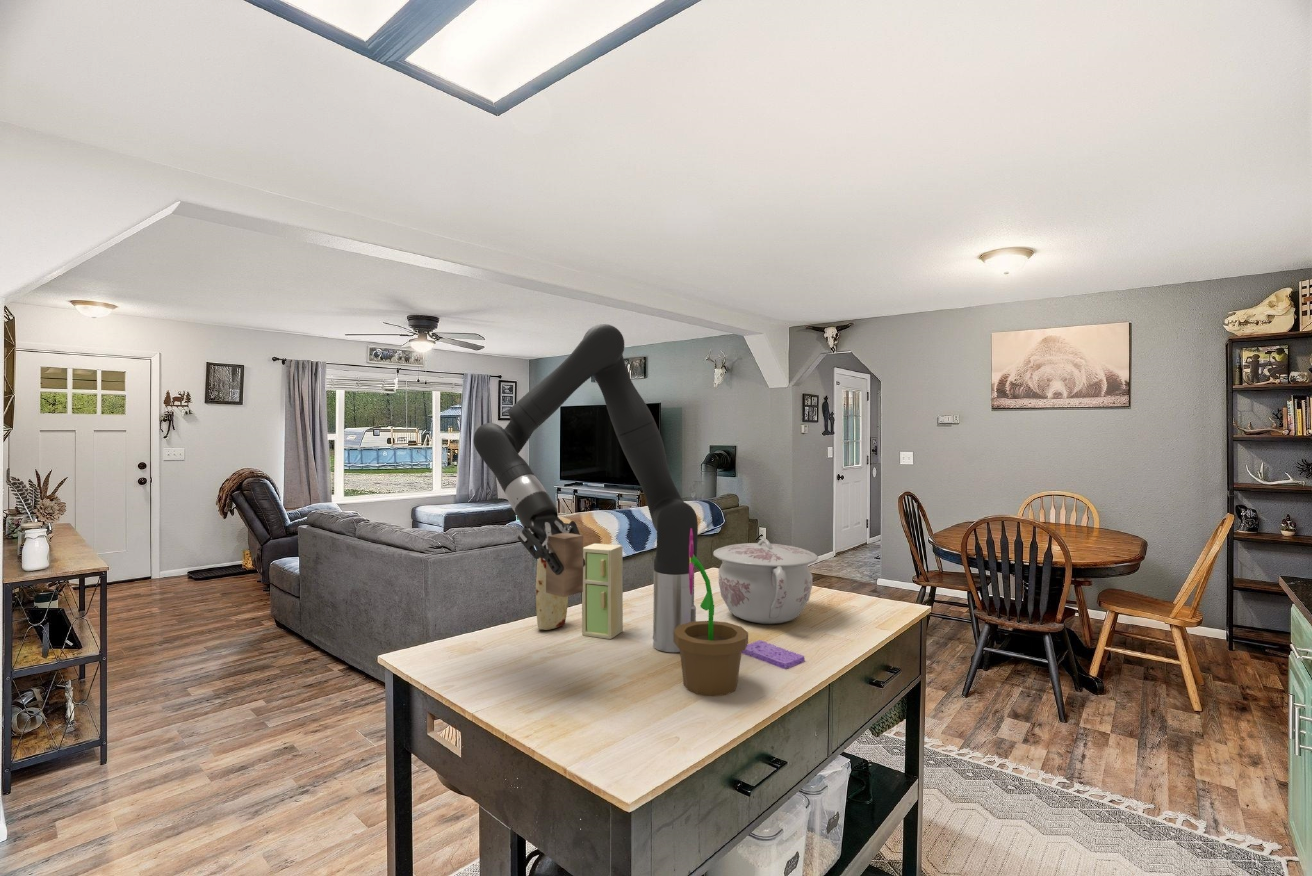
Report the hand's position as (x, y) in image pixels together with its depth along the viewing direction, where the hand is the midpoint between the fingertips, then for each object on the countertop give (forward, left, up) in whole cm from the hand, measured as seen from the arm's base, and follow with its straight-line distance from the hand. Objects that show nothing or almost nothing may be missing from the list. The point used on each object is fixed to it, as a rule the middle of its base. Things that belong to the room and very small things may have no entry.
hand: (571, 569), depth 119 cm
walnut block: (+1, -1, -5) cm, 5 cm away
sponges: (-43, -11, -23) cm, 50 cm away
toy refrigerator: (-7, -29, -22) cm, 37 cm away
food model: (+5, -35, -22) cm, 42 cm away
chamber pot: (-50, -39, -22) cm, 67 cm away
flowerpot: (-27, +3, -22) cm, 35 cm away
